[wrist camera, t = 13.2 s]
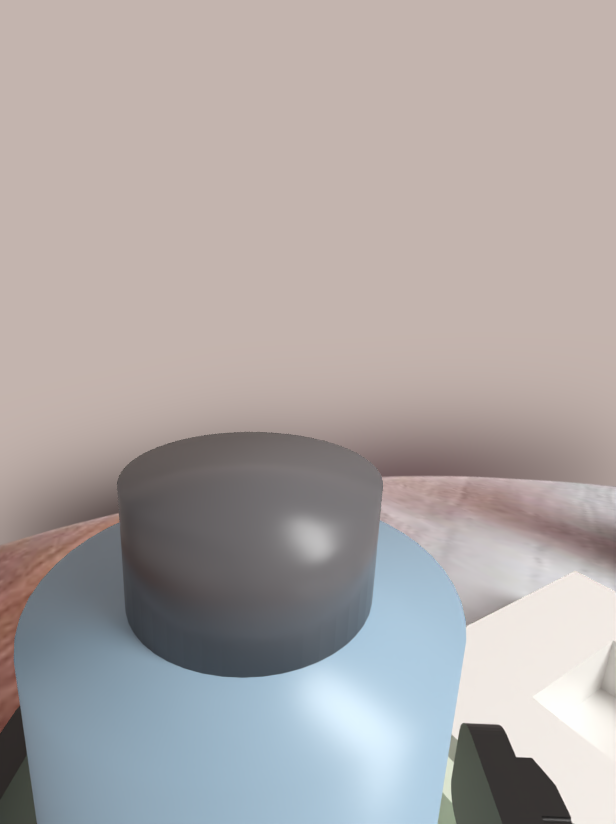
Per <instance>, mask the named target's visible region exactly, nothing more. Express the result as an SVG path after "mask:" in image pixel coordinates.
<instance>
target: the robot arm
mask: <svg viewBox="0 0 616 824" xmlns="http://www.w3.org/2000/svg"><path fill="white" fill-rule="evenodd" d="M451 796H452V805H453V811H454V816H455V820H456V824H573V823H572V821H571V816H570V814H569V812H568V810H567V808H566V805H565V803H564V801H563V799H562V797H561V795H560V793H559V791H558V789H557V787H556V785H555V784H554V783H553V781H552V780H551V779H550V778H549V777H548V776H547V774H546V773H545V772H544V771H543V770H542V769H541V767H540V766H539V765H538V764H537V763H536V762H535V761H534V759H533V758H526V757H516V755H515V753H514V750H513V748H512V746H511V744H510V741H509V739H508V737H507V734H506V732H505V730H504V729H503V727H502V726H501V725H498V724H475V723H462V724H461V726H460V730H459V736H458V742H457V747H456V753H455V759H454V765H453V771H452V778H451ZM0 824H37V820H36V813H35V806H34V799H33V792H32V785H31V778H30V771H29V764H28V757H27V750H26V743H25V736H24V729H23V722H22V715H21V708H20V706H19V708H18V709H17V710H16V711H15V713H14V714H13V716H12V717H11V719H10V720H9V721H8V723H7V724H6V726H5V727H4V729H3V730H2V732H1V733H0Z"/></svg>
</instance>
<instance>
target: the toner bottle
mask: <svg viewBox="0 0 616 824" xmlns="http://www.w3.org/2000/svg"><path fill="white" fill-rule="evenodd" d="M117 489H118V505H119V520H120V522H119V523H117V524H115V525H113V526H111V527H109V528H107V529H105V530H103V531H102V532H100V533H98V534H96V535H95V536H93V537H91V538H89V539H88V540H86V541H85V542H84V543H82V544H81V545H79V546H78V547H76V548H75V549H74V550H72V551H71V552H70V553H68V554H67V555H66V556H65V557H64V558H63V559H62V560H60V561H59V562H58V563H57V564H56V565H55V566H54V567H53V568H52V569H51V570H50V571H49V572H48V573H47V575H46V576H45V577H44V578H43V579H42V580H41V581H40V583H39V584H38V586H37V587H36V589H35V590H34V592H33V593H32V594H31V596H30V597H29V599H28V601H27V604H26V606H25V608H24V610H23V612H22V614H21V616H20V619H19V623H18V627H17V631H16V635H15V642H14V665H15V672H16V679H17V686H18V693H19V701H20V708H21V715H22V722H23V729H24V736H25V743H26V750H27V757H28V764H29V771H30V778H31V785H32V792H33V799H34V806H35V813H36V820H37V824H437V823H438V817H439V810H440V804H441V798H442V791H443V785H444V779H445V772H446V766H447V760H448V753H449V747H450V741H451V734H452V728H453V722H454V715H455V709H456V703H457V696H458V690H459V684H460V677H461V671H462V665H463V658H464V652H465V646H466V620H465V616H464V612H463V607H462V603H461V600H460V598H459V596H458V594H457V591H456V589H455V587H454V585H453V583H452V582H451V580H450V579H449V577H448V575H447V574H446V572H445V571H444V569H443V568H442V567H441V566H440V565H439V564H438V563H437V561H436V560H435V559H434V558H433V557H432V556H431V555H430V554H429V553H428V552H427V551H426V550H425V549H423V548H422V547H421V546H420V545H419V544H418V543H416V542H415V541H413V540H412V539H411V538H409V537H408V536H407V535H405V534H404V533H402V532H400V531H399V530H397V529H395V528H393V527H392V526H390V525H388V524H386V523H384V522H382V521H380V512H381V501H382V491H383V481H382V477H381V475H380V473H379V472H378V470H377V468H376V467H375V466H374V465H373V464H372V463H371V462H369V461H368V460H367V459H365V458H364V457H362V456H361V455H359V454H357V453H355V452H353V451H351V450H349V449H347V448H344V447H342V446H339V445H336V444H333V443H329V442H326V441H323V440H318V439H314V438H309V437H304V436H298V435H290V434H281V433H267V432H237V433H236V432H234V433H221V434H212V435H204V436H198V437H192V438H188V439H183V440H179V441H175V442H172V443H168V444H166V445H163V446H160V447H157V448H155V449H152V450H150V451H148V452H146V453H144V454H142V455H140V456H139V457H137V458H136V459H134V460H133V461H131V462H130V463H129V464H128V465H127V466H126V467H125V468H124V469H123V471H122V472H121V474H120V475H119V478H118V482H117Z"/></svg>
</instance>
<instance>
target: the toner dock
mask: <svg viewBox="0 0 616 824" xmlns="http://www.w3.org/2000/svg"><path fill="white" fill-rule="evenodd" d="M462 723H475V724H498V725H501V726H502V727H503V729H504V730H505V732H506V734H507V737H508V739H509V741H510V744H511V746H512V748H513V750H514V753H515V755H516V757H526V758H533V759H534V761H535V762H536V763H537V764H538V765H539V766H540V767H541V769H542V770H543V771H544V772H545V773H546V774H547V776H548V777H549V778H550V779H551V780H552V781H553V783H554V784H555V785H556V787H557V789H558V791H559V793H560V795H561V797H562V799H563V801H564V803H565V805H566V808H567V810H568V812H569V814H570V816H571V821H572V823H573V824H616V592H615V591H613V590H611V589H609V588H607V587H605V586H603V585H601V584H600V583H598V582H596V581H594V580H592V579H590V578H588V577H586V576H584V575H582V574H580V573H579V572H577V571H574V572H572V573H570V574H568V575H566V576H564V577H562V578H560V579H558V580H556V581H554V582H552V583H550V584H548V585H546V586H544V587H542V588H540V589H538V590H537V591H535V592H533V593H531V594H529V595H527V596H525V597H523V598H521V599H519V600H517V601H515V602H513V603H511V604H509V605H507V606H505V607H503V608H501V609H499V610H497V611H495V612H493V613H491V614H489V615H487V616H485V617H483V618H482V619H480V620H478V621H476V622H474V623H472V624H470V625H468V626H466V646H465V652H464V658H463V665H462V671H461V677H460V684H459V690H458V696H457V703H456V709H455V715H454V722H453V728H452V734H451V741H450V747H449V753H448V757H449V758H450V759H451V760H452V761H453V762H454V759H455V753H456V747H457V742H458V736H459V730H460V726H461V724H462Z"/></svg>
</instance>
